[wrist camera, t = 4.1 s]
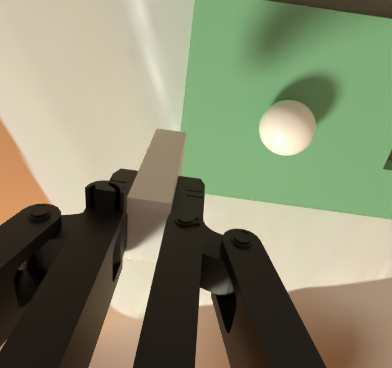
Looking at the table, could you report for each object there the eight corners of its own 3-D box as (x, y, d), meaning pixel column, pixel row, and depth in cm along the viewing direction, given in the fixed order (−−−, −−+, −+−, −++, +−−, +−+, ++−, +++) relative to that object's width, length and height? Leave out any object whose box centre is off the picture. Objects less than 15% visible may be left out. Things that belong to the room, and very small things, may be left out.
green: (176, 177, 29) (169, 210, 25) (197, -10, 22) (192, -9, 18) (453, 215, 30) (493, 255, 25) (561, 42, 22) (642, 56, 18)
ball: (251, 138, 25) (256, 160, 22) (262, 89, 23) (269, 106, 20) (300, 145, 25) (312, 168, 22) (315, 97, 23) (330, 114, 20)
